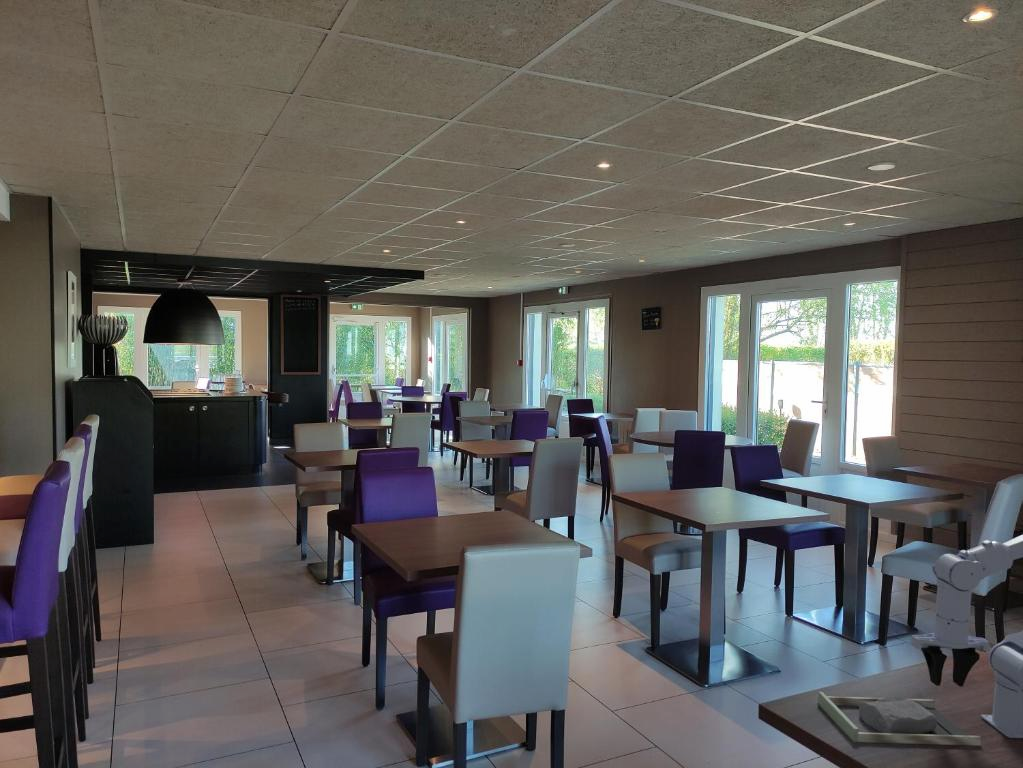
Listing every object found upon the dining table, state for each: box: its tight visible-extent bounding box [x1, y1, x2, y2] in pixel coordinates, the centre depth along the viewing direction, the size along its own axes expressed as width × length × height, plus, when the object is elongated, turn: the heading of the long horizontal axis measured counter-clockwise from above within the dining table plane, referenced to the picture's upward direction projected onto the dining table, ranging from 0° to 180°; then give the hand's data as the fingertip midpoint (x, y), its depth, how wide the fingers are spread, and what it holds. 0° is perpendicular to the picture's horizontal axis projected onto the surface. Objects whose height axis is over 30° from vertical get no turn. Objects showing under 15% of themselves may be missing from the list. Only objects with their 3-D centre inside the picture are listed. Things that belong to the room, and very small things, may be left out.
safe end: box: [817, 691, 859, 743], centre depth 141 cm, size 1×14×2 cm, turn 2°
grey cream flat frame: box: [826, 695, 982, 746], centre depth 142 cm, size 24×14×2 cm, turn 92°
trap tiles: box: [925, 707, 969, 736], centre depth 142 cm, size 7×12×1 cm, turn 2°
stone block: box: [858, 696, 938, 734], centre depth 141 cm, size 12×5×10 cm
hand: (946, 683), depth 142 cm, fingers open, 4 cm apart
